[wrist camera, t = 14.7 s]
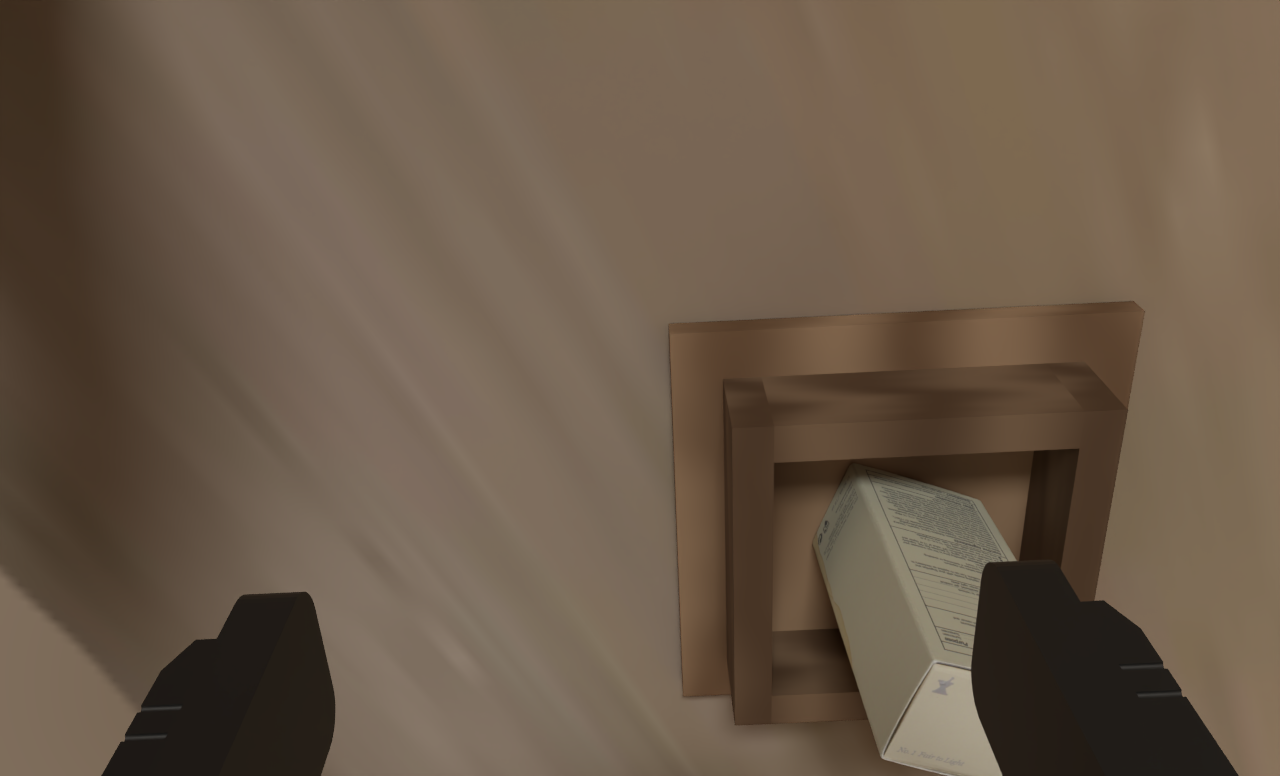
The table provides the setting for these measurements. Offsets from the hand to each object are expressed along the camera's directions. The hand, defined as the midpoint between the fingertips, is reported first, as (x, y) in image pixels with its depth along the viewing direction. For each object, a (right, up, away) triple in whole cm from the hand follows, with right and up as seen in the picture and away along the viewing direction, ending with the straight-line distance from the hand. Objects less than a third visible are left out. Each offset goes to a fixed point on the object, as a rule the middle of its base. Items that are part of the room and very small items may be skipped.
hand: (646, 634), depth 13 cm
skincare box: (+11, -2, +32) cm, 34 cm away
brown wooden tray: (+10, -2, +33) cm, 34 cm away
